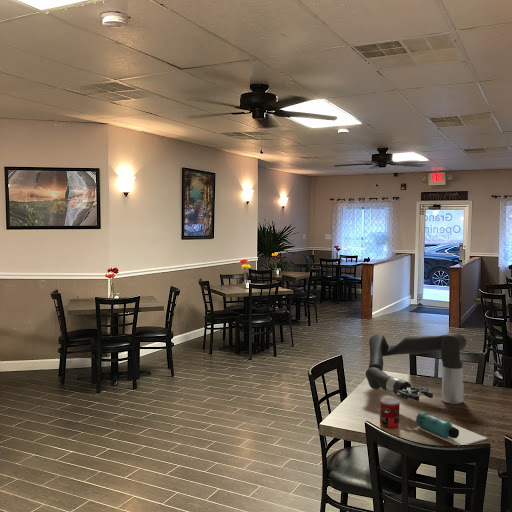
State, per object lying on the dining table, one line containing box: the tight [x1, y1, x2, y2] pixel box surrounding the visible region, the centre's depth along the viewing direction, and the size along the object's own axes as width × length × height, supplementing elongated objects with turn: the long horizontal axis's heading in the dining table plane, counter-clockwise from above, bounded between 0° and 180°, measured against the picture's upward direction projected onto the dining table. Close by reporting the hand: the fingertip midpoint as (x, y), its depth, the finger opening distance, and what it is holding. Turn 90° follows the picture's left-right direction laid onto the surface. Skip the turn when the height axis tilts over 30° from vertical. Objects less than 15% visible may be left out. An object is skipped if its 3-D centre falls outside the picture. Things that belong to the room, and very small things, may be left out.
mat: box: [416, 422, 488, 446], centre depth 219 cm, size 22×16×1 cm
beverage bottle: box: [415, 411, 459, 438], centre depth 217 cm, size 6×7×20 cm
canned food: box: [379, 397, 401, 430], centre depth 227 cm, size 8×8×11 cm
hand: (425, 397), depth 231 cm, fingers open, 8 cm apart
